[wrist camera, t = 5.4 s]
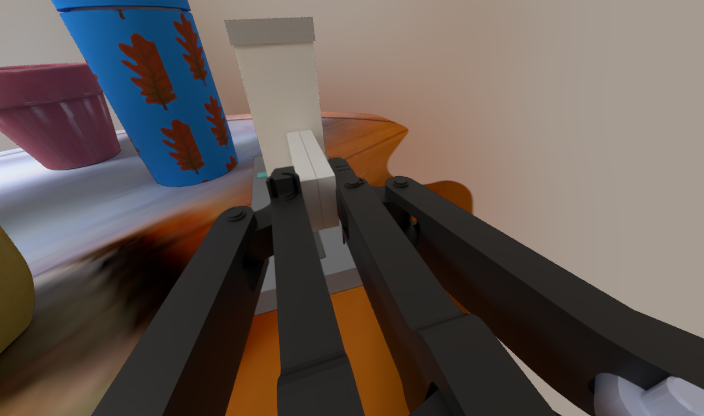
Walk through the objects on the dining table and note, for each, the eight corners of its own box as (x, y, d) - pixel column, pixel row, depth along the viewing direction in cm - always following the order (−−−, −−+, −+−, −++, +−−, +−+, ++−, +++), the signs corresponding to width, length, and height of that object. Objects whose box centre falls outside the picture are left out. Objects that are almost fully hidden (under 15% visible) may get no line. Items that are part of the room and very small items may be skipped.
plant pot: (123, 136, 48) (79, 59, 41) (154, 151, 41) (106, 61, 34) (14, 164, 39) (-69, 71, 31) (30, 189, 32) (-73, 76, 24)
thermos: (252, 153, 39) (182, -91, 24) (212, 188, 30) (66, -158, 16) (188, 152, 40) (85, -79, 26) (132, 186, 31) (-70, -135, 17)
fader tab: (333, 219, 20) (312, 17, 13) (280, 231, 19) (224, 20, 12) (325, 199, 23) (303, 20, 15) (278, 208, 22) (230, 23, 14)
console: (385, 278, 18) (386, 258, 17) (255, 315, 16) (245, 295, 15) (323, 160, 35) (322, 145, 34) (257, 170, 33) (253, 155, 32)
